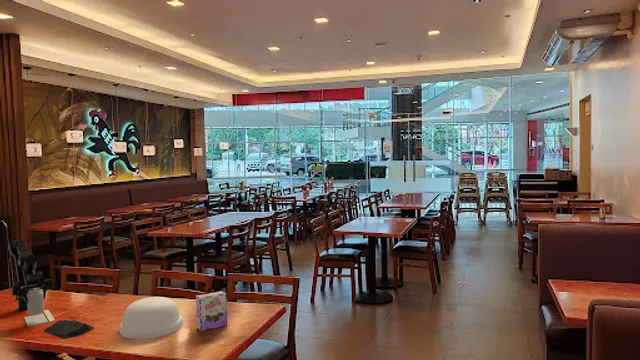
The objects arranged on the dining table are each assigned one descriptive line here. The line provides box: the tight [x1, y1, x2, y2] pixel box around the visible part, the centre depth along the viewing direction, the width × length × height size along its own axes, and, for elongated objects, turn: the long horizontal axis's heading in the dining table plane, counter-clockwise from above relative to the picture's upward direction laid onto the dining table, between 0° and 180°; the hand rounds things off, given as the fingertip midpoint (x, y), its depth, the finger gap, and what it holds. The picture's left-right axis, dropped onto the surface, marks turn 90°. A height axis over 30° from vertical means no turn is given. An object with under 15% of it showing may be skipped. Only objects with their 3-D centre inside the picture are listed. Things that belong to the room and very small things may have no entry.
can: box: [26, 288, 45, 316], centre depth 251 cm, size 8×8×12 cm
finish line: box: [43, 309, 56, 323], centre depth 261 cm, size 22×2×1 cm, turn 37°
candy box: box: [195, 290, 228, 332], centre depth 238 cm, size 14×6×16 cm, turn 122°
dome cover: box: [119, 296, 184, 340], centre depth 240 cm, size 32×30×14 cm
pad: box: [24, 313, 49, 327], centre depth 255 cm, size 16×9×1 cm, turn 37°
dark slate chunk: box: [43, 319, 94, 340], centre depth 239 cm, size 15×22×5 cm
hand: (36, 300), depth 250 cm, fingers closed on can, 7 cm apart
